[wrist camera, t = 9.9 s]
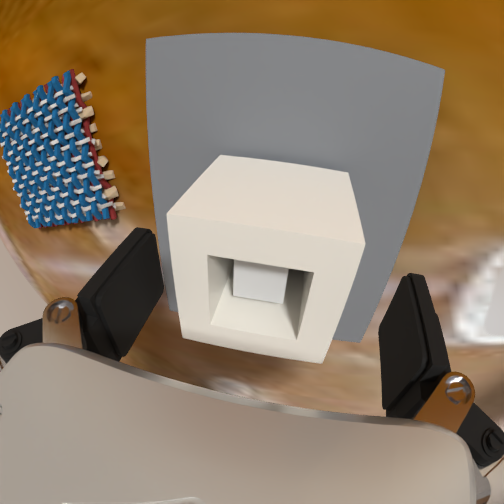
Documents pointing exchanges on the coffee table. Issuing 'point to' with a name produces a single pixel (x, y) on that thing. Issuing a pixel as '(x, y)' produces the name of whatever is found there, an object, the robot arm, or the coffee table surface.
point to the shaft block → (294, 137)
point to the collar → (265, 254)
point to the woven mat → (57, 156)
